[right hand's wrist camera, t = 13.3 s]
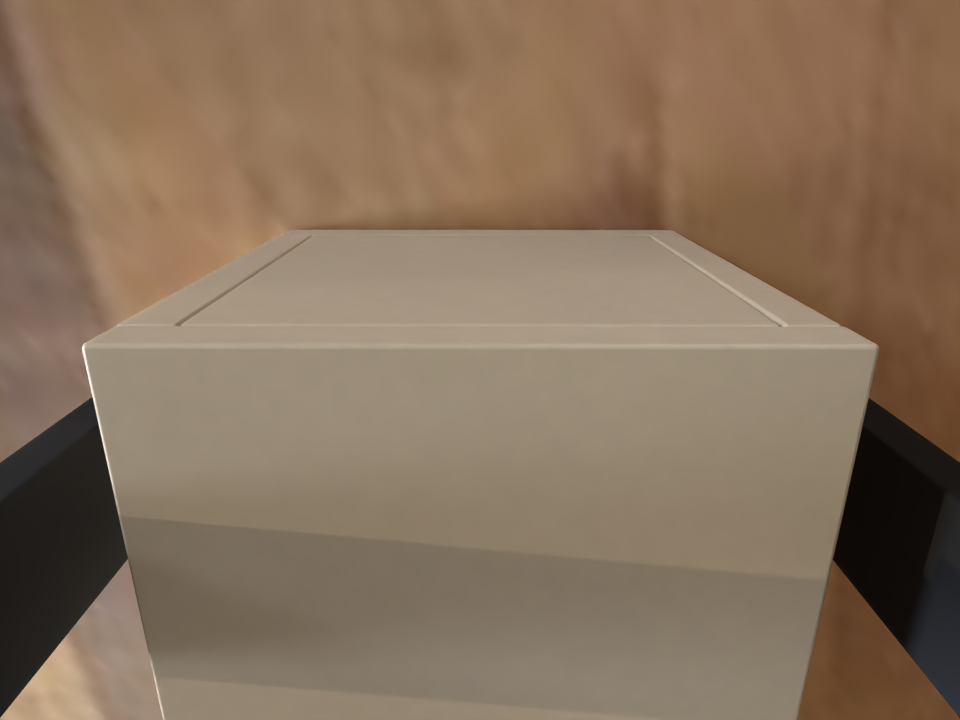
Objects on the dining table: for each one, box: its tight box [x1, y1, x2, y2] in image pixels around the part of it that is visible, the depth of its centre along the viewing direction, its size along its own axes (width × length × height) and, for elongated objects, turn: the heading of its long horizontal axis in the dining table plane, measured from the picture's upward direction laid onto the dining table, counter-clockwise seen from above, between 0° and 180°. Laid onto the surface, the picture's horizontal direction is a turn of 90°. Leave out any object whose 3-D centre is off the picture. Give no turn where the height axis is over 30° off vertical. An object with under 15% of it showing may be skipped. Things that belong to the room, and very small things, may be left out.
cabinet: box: [82, 230, 879, 720], centre depth 16 cm, size 21×10×9 cm, turn 0°
